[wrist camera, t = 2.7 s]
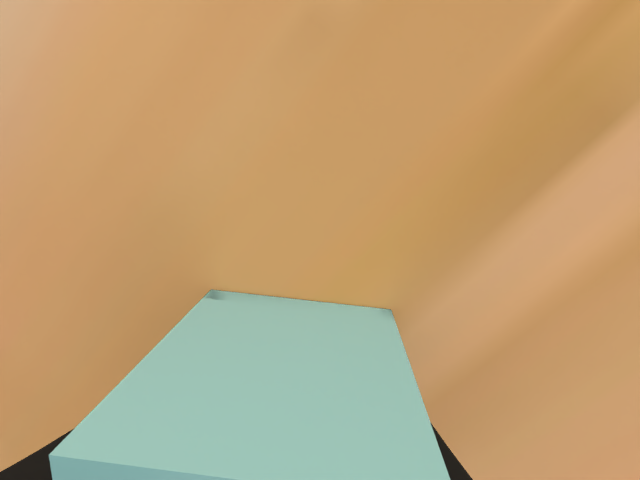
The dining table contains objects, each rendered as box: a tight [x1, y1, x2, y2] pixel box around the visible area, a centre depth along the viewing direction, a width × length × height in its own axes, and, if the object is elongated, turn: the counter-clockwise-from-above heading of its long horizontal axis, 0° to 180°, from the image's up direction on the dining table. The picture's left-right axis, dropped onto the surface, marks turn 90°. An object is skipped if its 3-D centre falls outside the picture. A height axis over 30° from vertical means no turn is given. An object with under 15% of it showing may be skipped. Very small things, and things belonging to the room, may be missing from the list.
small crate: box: [49, 290, 450, 480], centre depth 7 cm, size 5×5×6 cm
